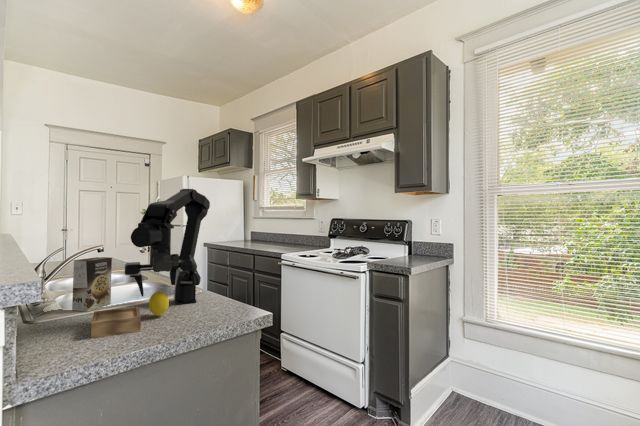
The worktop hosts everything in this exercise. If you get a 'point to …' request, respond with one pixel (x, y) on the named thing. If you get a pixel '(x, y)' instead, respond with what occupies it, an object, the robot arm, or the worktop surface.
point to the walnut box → (115, 322)
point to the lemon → (159, 303)
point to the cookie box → (91, 283)
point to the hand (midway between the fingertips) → (159, 294)
